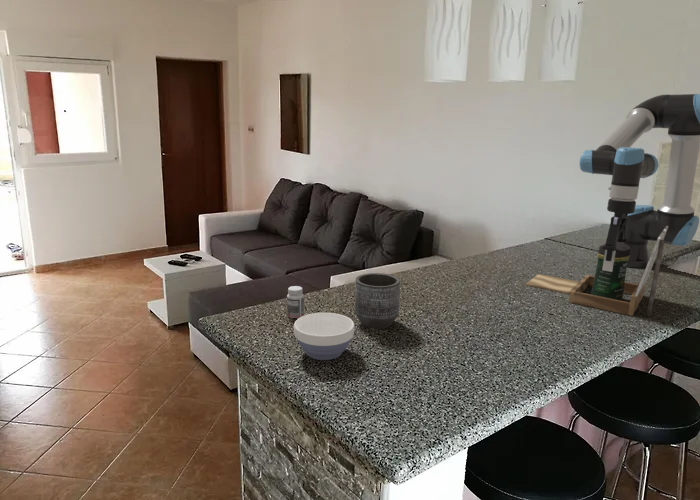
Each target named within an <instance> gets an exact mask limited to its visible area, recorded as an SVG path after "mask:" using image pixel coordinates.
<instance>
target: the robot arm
mask: <svg viewBox="0 0 700 500" xmlns="http://www.w3.org/2000/svg"><path fill="white" fill-rule="evenodd" d="M652 129H667V135H668V136H669V137H670V139H671V144H670V151H669V158H668V165H667V172H666V180H665V188H664V195H663V203H662V204H661V205H659V206H658V207H657V210H655V207H654V205H651V204H650V205H648V204H637V201H636V200H637V199H638V194H639V189H640V182H641V179H646V178H648V177H651V176H653V175H655V173H657V171H658V168H659V161H658V158H657V157H656V156H655V155H653V154H651V153H647V152H646V153H645V149H644V148H641V147H632V146H633V145H634V144H635V142H637V141H638V139H640V137H642V135H643V134H644V133H648V132H650V131H651V130H652ZM699 151H700V93H692V94H691V93H690V94H689V93H688V94H687V93H686V94H685V93H684V94H682V93H681V94H660V95H656V96H654V97H650V98H648V99H646V100H644V101H643V102H641V103H639V104H637V105H635V106H634V107H633V108H632V109H631V110H630V111H629V112H628V114H627V116H626V118H625V120H624V121H623V122H622V123H621V124H620V125H619V126H618V127H617V128H616V129H615V130H614V131H613V133H612V134H611V135H609V136H608V138H606V139H605V140H604V141H603V143H602V144H600V145H599V147H597V148H596V149H595V150H594V149H587V150H584V151H583V152H582V153H581V155H580V158H579V169H580V170H581V171H582V172H583V173H589V174H591V175H593V174H595V175H607V176H612V177H611V183H610V186H609V187H608V188H607V189H608V191H609V197H610V198H609V199H608V200H607V201H608V202H607V208H606V209H607V212H610V213H614V214H613V216H611V218H610V225H609V228H608V232H607V236H606V240H605V243H604V244H605V247H604V246H603V249H604V250H605V256H604V262H603V268H602V270H604V271H610V272H612V270H613V264H614V258H615V252H616V251H615V248H616V244H617V242H621V243H625V244H628V245H629V246H630V248H631V250H630V257H629V260H628V264H627V267H628V268H639V269H640V268H646V266H647V264H648V261H649V259H650V253H649V249H648V244H649V242H650V241H651V242H656V241H657V239H658V237H659V236H660V234H661V233H662V231H663V230H664V229H665V227H666V226H668V229H667V231H666V234H665V236H664V239H663V240H665V242H664V244H668V245H672V246H680V247H684V246H688V245H689V244H690V243H691V241H692V240H693V239H694V237H695V235H696V233H697V230H698V227H699V224H700V217H699V216H697V215H695V209H694V207H692V205H691V203H692V196H693V190H694V185H695V184H694V183H695V178H696V171H697V165H698V158H699Z"/></svg>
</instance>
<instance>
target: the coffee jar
mask: <svg viewBox="0 0 700 500" xmlns="http://www.w3.org/2000/svg"><path fill="white" fill-rule="evenodd" d="M605 244H606V243H604V244H601V245H599V247H598V252H597V264H596V269H595V275H594V276H595V278H594V283H593V287H591V292H590V295H595V296H600V297H605V298H610V299H615V300H620V301H622V299H623V297H624V293H623V292H624V283H625V282H626V274H627V264H628V260H629V257H630V250H631V248H630V246H629V245H628V244H625V243H621V242H617V244H616V248H615V251H616V252H615V258H614V264H613V270H612V272H610V271H604V270H602V268H603V262H604V256H605V250H604V249H603V246H604V247H605Z"/></svg>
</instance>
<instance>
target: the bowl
mask: <svg viewBox="0 0 700 500" xmlns="http://www.w3.org/2000/svg"><path fill="white" fill-rule="evenodd" d="M355 328H356V327H355V323H354V321H353V319H351V318H350V317H348V316H346V315H343V314H339V313H334V312H314V313H309V314H304V316H302V317H300V318H297V320H295V321H294V324H293V333H294V336H295V339H296V341H297V343H298V344H299V346H300V347H301V349H302V350H303V351H304V352H305V354H306V356H307V357H309V358H310V359H314V360H316V361H317V360H318V361H331V360H335V359H337V358H339V357H341V356H342V354H343V352H344V351H345V350H346V349H347V348H348V346H349V344H350V343H351V341H352V340H353V338H354V334H355Z"/></svg>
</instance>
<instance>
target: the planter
mask: <svg viewBox="0 0 700 500" xmlns="http://www.w3.org/2000/svg"><path fill="white" fill-rule="evenodd" d="M354 287H355V290H354V313H355V315H356V317H357V319H358V321H359V322H360V324H361V325H362V326H363V327H364V328H367V327H368V328H367V329H370V328H372V329H371V330H384V328H385V329H387V328H389V327H391V326H392V325H393V323H394V322H395V320H396V319H397V317H398V316H399V314H400V296H401V295H400V293H401V280H400V278H399V277H397V276H395V275H392V274H388V273H383V272H382V273H380V272H369V273H364V274H360V275H358V276H356V278H355V286H354Z"/></svg>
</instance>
